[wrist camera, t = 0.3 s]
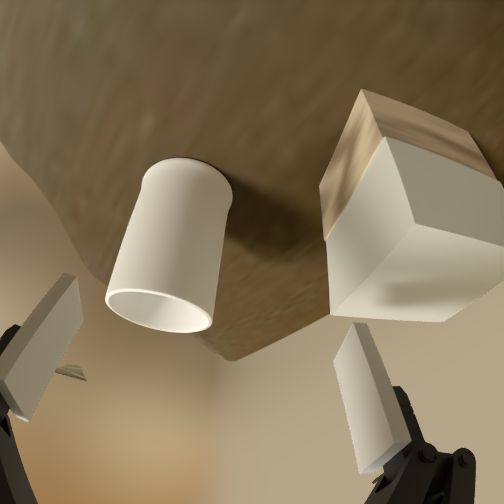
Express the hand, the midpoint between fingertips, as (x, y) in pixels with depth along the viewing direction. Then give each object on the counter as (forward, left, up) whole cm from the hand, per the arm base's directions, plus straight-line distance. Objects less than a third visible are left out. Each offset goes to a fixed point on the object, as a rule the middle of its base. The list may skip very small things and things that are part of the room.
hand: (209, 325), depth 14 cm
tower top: (-1, +13, -9) cm, 16 cm away
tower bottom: (-1, +12, -15) cm, 20 cm away
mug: (+9, -3, -15) cm, 18 cm away
